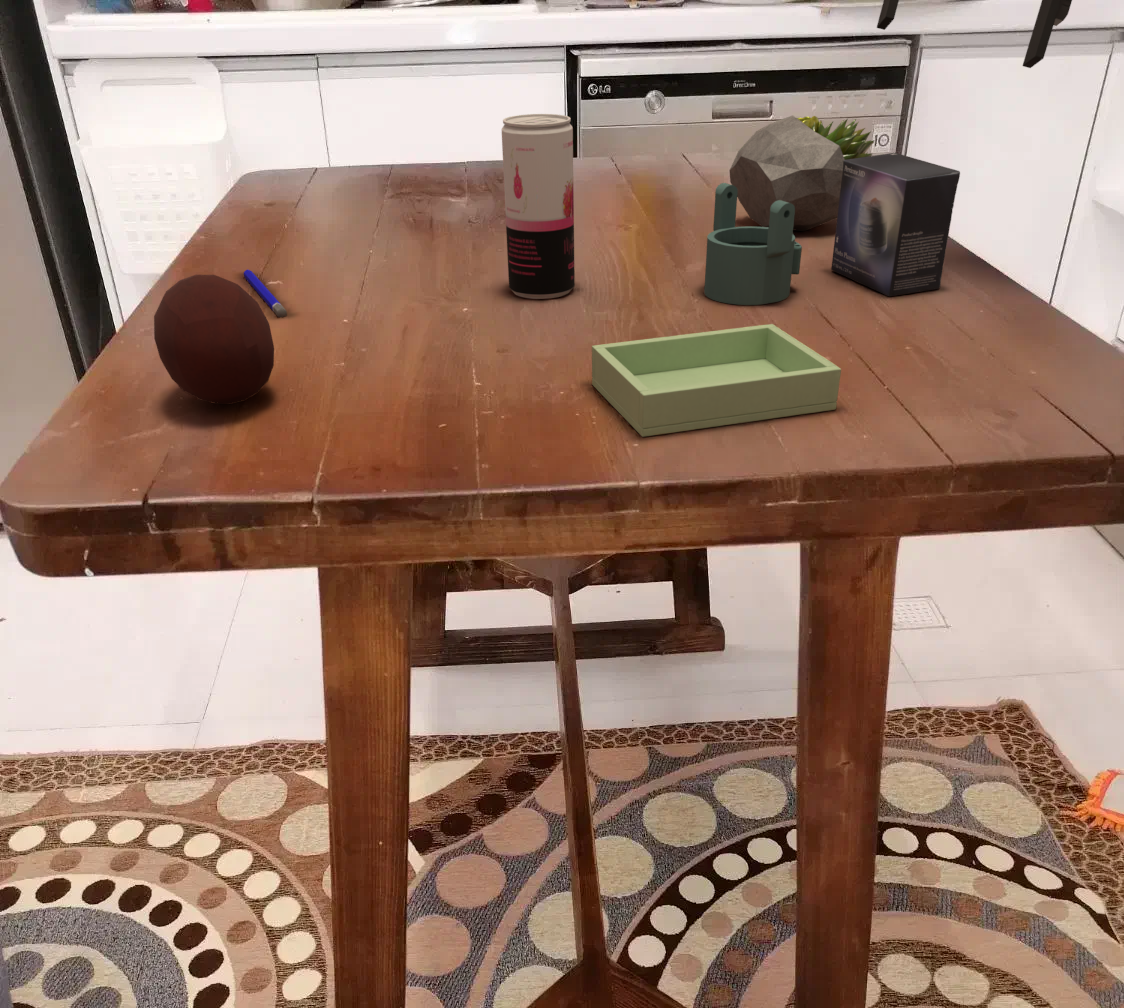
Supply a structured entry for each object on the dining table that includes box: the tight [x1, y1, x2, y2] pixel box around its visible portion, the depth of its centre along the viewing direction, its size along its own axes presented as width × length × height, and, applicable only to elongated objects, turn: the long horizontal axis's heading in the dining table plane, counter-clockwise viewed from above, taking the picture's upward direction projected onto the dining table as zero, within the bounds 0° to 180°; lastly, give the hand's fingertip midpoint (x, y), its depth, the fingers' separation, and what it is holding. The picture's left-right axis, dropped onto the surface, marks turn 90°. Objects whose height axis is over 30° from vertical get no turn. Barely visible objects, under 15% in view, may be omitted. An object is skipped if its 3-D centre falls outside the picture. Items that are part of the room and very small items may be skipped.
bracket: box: [703, 182, 803, 306], centre depth 105 cm, size 9×9×9 cm
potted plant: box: [729, 115, 875, 232], centre depth 125 cm, size 12×13×15 cm
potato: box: [153, 274, 275, 405], centre depth 84 cm, size 9×12×9 cm
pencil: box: [243, 269, 288, 318], centre depth 110 cm, size 17×1×1 cm, turn 24°
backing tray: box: [591, 323, 842, 438], centre depth 84 cm, size 12×16×3 cm
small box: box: [830, 152, 961, 297], centre depth 107 cm, size 11×6×10 cm, turn 22°
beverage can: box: [501, 113, 576, 300], centre depth 105 cm, size 7×7×15 cm
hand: (959, 43), depth 96 cm, fingers open, 13 cm apart
